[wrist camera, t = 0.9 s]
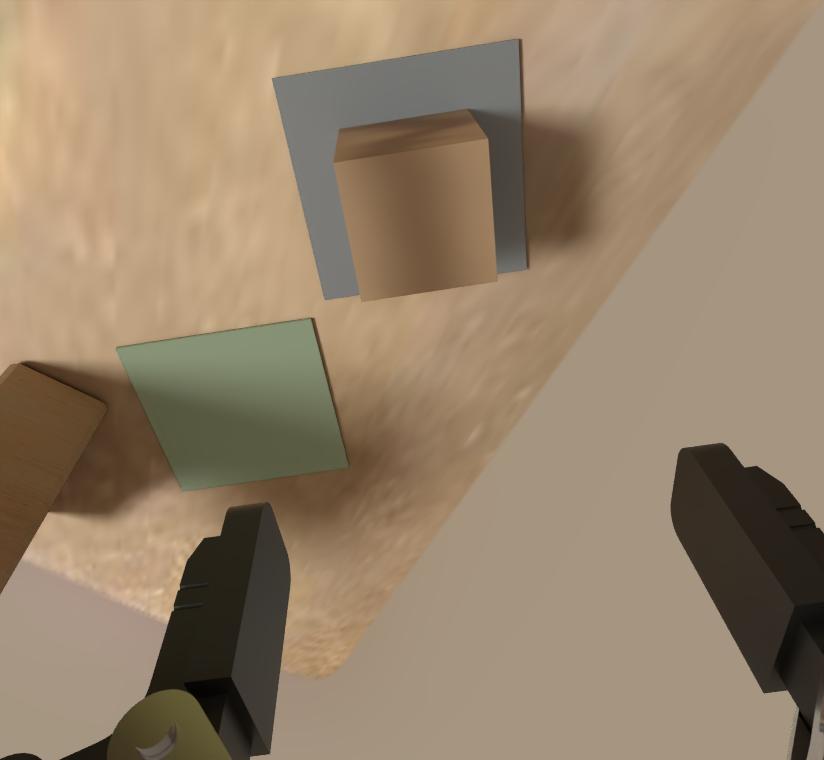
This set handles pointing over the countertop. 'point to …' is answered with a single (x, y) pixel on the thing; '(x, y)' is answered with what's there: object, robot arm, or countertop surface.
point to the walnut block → (417, 204)
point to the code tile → (392, 100)
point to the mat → (238, 404)
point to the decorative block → (36, 452)
